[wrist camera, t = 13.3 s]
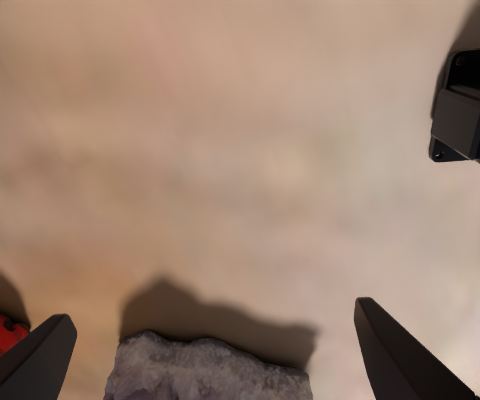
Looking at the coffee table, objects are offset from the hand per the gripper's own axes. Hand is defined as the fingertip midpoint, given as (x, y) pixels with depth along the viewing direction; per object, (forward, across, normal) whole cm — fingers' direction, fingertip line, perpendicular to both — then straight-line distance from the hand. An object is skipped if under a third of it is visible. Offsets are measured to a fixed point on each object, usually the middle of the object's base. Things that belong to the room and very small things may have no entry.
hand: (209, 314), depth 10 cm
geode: (+13, +4, +23) cm, 27 cm away
